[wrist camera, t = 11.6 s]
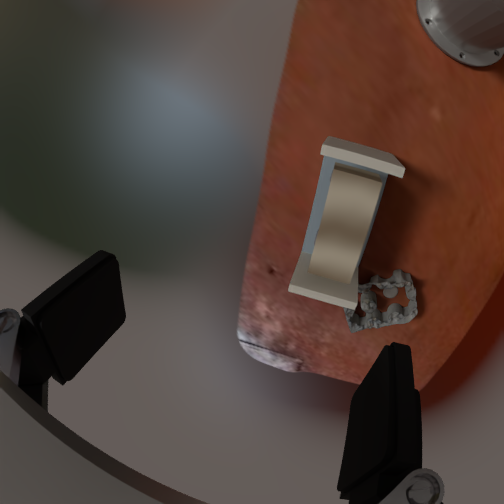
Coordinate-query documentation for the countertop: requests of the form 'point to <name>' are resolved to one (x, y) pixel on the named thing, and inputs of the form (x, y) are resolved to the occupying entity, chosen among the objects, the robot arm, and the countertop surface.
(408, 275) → the egg carton
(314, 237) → the peg stand
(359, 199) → the beige wavy block
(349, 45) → the countertop surface
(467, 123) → the countertop surface
